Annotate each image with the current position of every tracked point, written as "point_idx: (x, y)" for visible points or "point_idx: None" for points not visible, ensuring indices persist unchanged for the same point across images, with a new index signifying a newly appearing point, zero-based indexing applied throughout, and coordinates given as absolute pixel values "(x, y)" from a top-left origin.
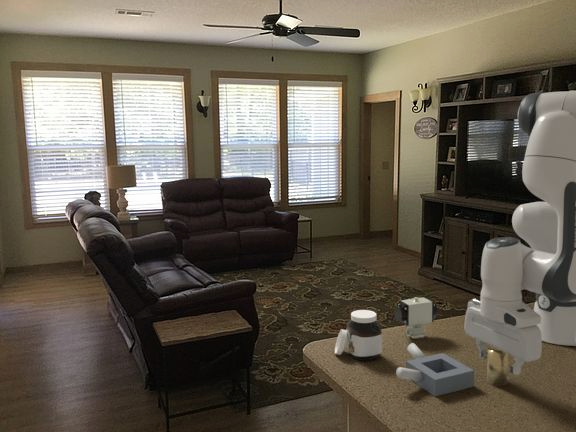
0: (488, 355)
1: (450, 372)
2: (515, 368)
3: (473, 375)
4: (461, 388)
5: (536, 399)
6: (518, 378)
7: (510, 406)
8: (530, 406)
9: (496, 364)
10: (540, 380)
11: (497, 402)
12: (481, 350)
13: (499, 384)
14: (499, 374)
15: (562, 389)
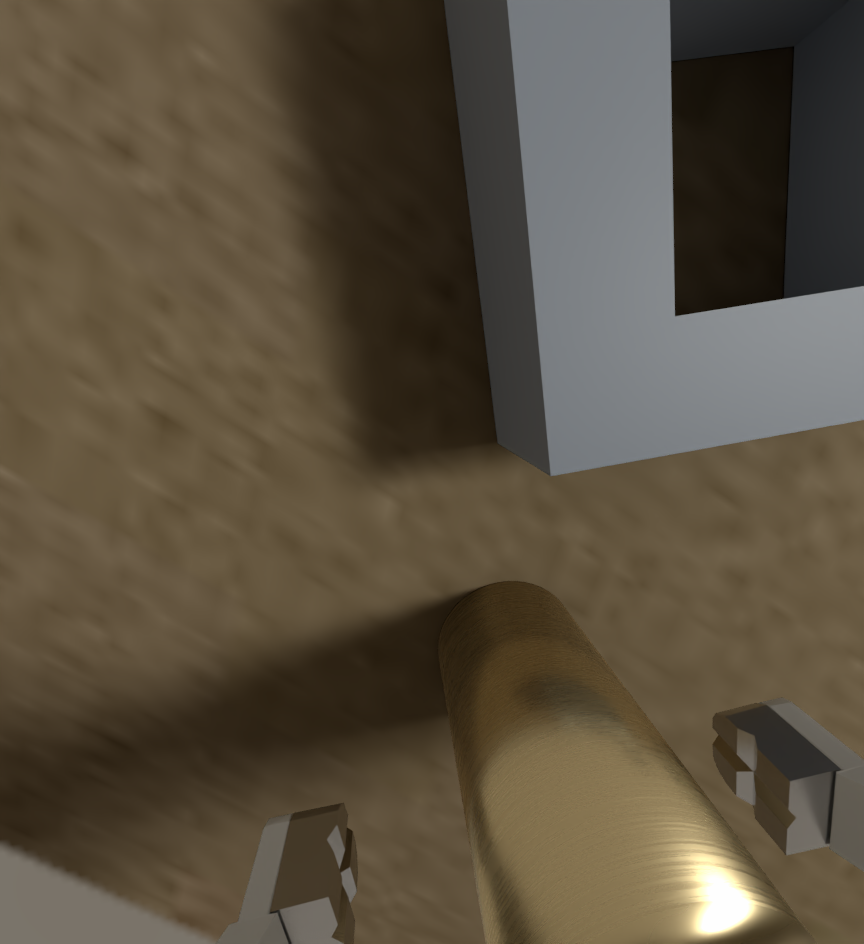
0: (659, 796)
1: (610, 126)
2: (246, 909)
3: (530, 457)
4: (485, 309)
5: (209, 749)
6: None
7: (138, 534)
8: (118, 664)
9: (500, 761)
10: (438, 888)
11: (216, 476)
12: (848, 785)
13: (445, 634)
14: (459, 694)
15: None
